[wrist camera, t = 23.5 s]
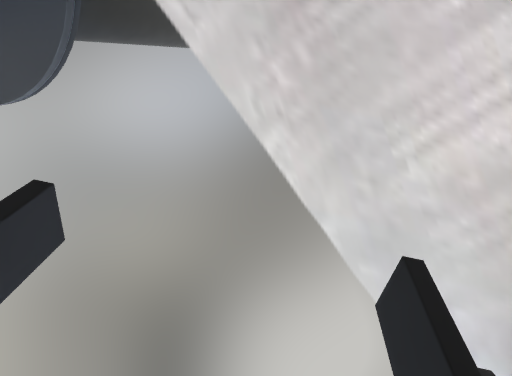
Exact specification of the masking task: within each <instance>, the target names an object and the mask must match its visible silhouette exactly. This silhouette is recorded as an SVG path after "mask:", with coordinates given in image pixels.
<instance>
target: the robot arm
mask: <svg viewBox="0 0 512 376" xmlns="http://www.w3.org/2000/svg"><path fill="white" fill-rule="evenodd" d="M64 240H65V238H64V233H63V228H62V222H61V217H60V212H59V207H58V202H57V197H56V192H55V187H54V184H53V183H48V182H43V181H39V180H32V181H31V182H29V183H28V184H26V185H25V186H23V187H22V188H20V189H18V190H17V191H16V192H14V193H12V194H11V195H9V196H7V197H6V198H4V199H3V200H1V201H0V304H1V303H2V302H3V301H4V300H5V299H6V298H7V297H8V296H9V295H10V294H11V293H12V292H13V291H14V290H15V289H16V288H17V287H18V286H19V285H20V284H21V283H22V282H23V281H24V280H25V279H26V278H27V277H28V276H29V275H30V274H31V273H32V272H33V271H34V270H35V269H36V268H37V267H38V266H39V265H40V264H41V263H42V262H43V261H44V260H45V259H46V258H47V257H48V256H49V255H50V254H51V253H52V252H53V251H54V250H55V249H56V248H57V247H58V246H59V245H60V244H61V243H62V242H63V241H64ZM375 307H376V310H377V314H378V318H379V322H380V326H381V329H382V333H383V337H384V341H385V345H386V348H387V352H388V356H389V360H390V364H391V367H392V371H393V375H394V376H495V375H494V373H493V372H492V371H490V370H486V369H481V368H477V366H476V364H475V362H474V360H473V358H472V356H471V354H470V352H469V350H468V348H467V346H466V344H465V342H464V340H463V338H462V336H461V334H460V332H459V330H458V328H457V326H456V324H455V322H454V320H453V318H452V316H451V315H450V313H449V311H448V309H447V307H446V305H445V303H444V301H443V299H442V297H441V295H440V293H439V291H438V289H437V287H436V285H435V283H434V281H433V279H432V277H431V275H430V273H429V271H428V269H427V267H426V265H425V263H424V261H423V260H419V259H414V258H409V257H404V256H402V258H401V260H400V262H399V263H398V265H397V267H396V269H395V271H394V272H393V274H392V276H391V278H390V280H389V281H388V283H387V285H386V287H385V289H384V290H383V292H382V294H381V296H380V298H379V299H378V301H377V303H376V305H375Z"/></svg>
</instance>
